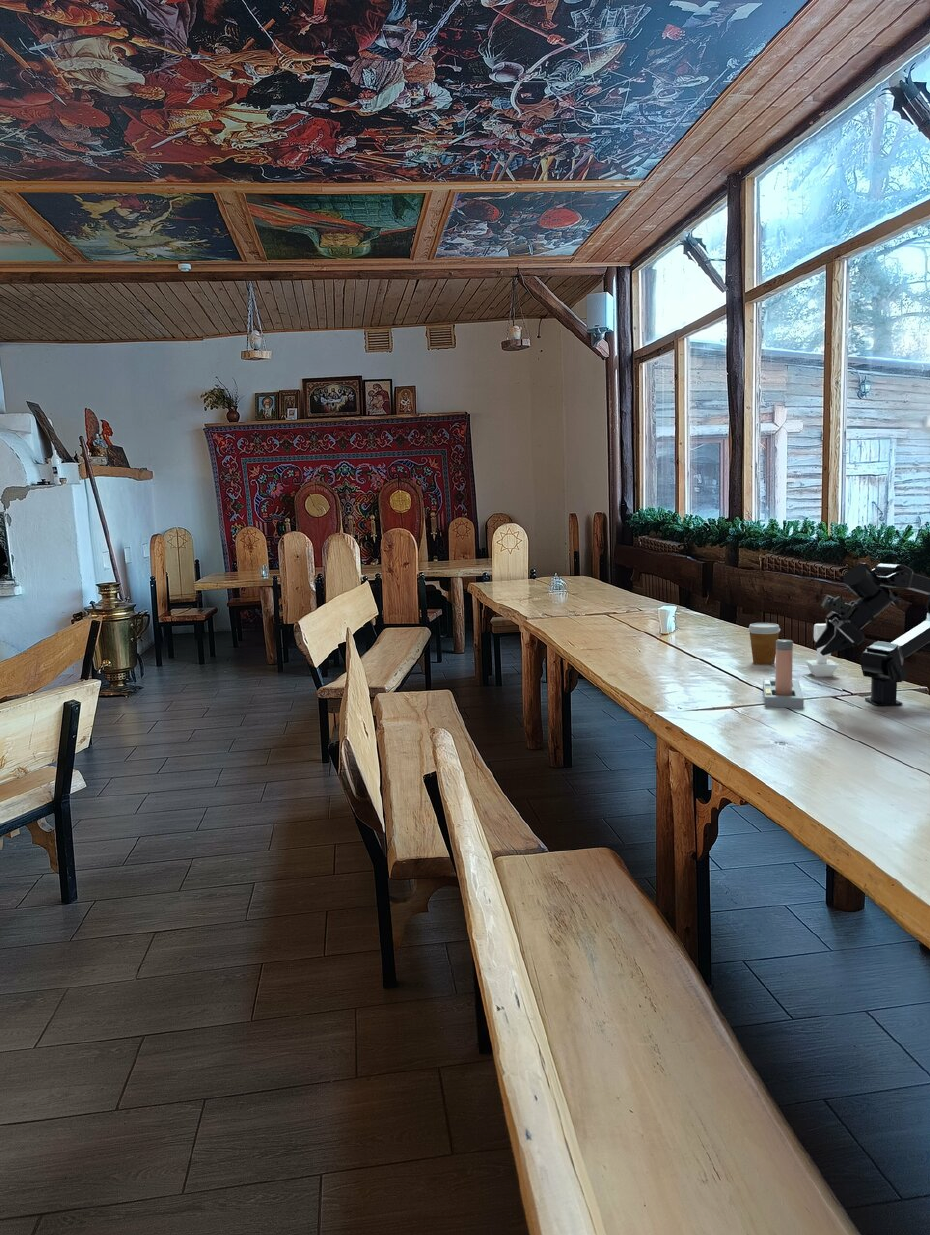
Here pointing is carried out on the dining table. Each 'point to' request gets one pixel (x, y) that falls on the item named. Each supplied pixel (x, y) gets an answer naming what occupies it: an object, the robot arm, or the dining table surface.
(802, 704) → the socket plate
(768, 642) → the disposable coffee cup
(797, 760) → the dining table surface
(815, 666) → the figurine
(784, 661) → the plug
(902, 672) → the robot arm
